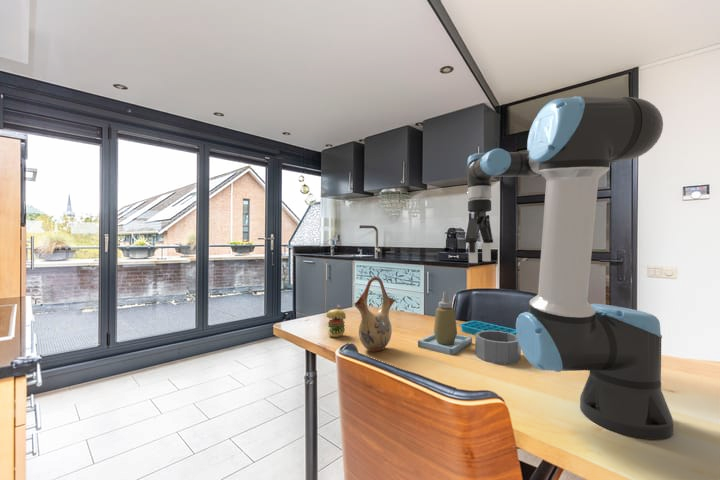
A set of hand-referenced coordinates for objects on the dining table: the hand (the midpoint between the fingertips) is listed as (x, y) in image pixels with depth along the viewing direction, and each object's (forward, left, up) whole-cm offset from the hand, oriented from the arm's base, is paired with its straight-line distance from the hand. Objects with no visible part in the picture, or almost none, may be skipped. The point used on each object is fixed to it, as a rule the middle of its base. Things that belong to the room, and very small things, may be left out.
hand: (480, 262), depth 111 cm
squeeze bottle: (-3, +11, -29) cm, 32 cm away
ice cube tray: (+20, +4, -31) cm, 37 cm away
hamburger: (-20, +49, -30) cm, 61 cm away
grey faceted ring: (-3, -7, -30) cm, 31 cm away
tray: (-3, +11, -30) cm, 32 cm away
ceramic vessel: (-23, +27, -30) cm, 47 cm away
